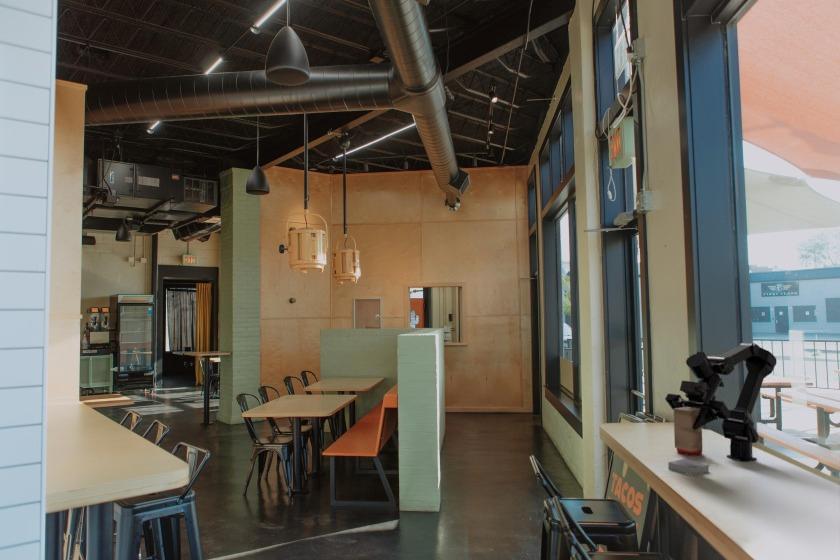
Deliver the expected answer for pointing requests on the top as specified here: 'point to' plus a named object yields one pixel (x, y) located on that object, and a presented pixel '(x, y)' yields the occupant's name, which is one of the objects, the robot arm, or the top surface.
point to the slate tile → (688, 466)
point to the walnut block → (687, 429)
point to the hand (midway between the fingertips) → (685, 427)
